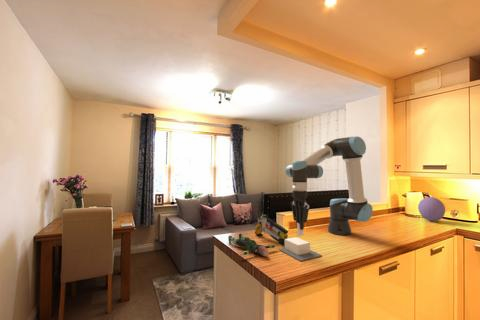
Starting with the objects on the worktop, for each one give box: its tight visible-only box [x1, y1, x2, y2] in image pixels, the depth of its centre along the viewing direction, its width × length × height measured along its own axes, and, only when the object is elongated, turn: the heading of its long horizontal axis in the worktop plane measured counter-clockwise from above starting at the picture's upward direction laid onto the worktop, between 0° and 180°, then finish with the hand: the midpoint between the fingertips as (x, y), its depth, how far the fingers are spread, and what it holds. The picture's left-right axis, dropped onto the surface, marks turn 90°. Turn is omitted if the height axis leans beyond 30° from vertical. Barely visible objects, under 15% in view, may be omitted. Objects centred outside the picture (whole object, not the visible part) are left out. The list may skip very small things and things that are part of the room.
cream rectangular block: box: [283, 236, 311, 255], centre depth 122 cm, size 8×5×11 cm
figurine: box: [227, 232, 279, 257], centre depth 125 cm, size 26×6×30 cm
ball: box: [417, 196, 446, 222], centre depth 188 cm, size 17×17×20 cm
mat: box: [278, 247, 323, 262], centre depth 119 cm, size 14×17×1 cm
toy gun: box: [254, 214, 289, 246], centre depth 142 cm, size 4×26×15 cm, turn 35°
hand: (300, 235), depth 119 cm, fingers closed
